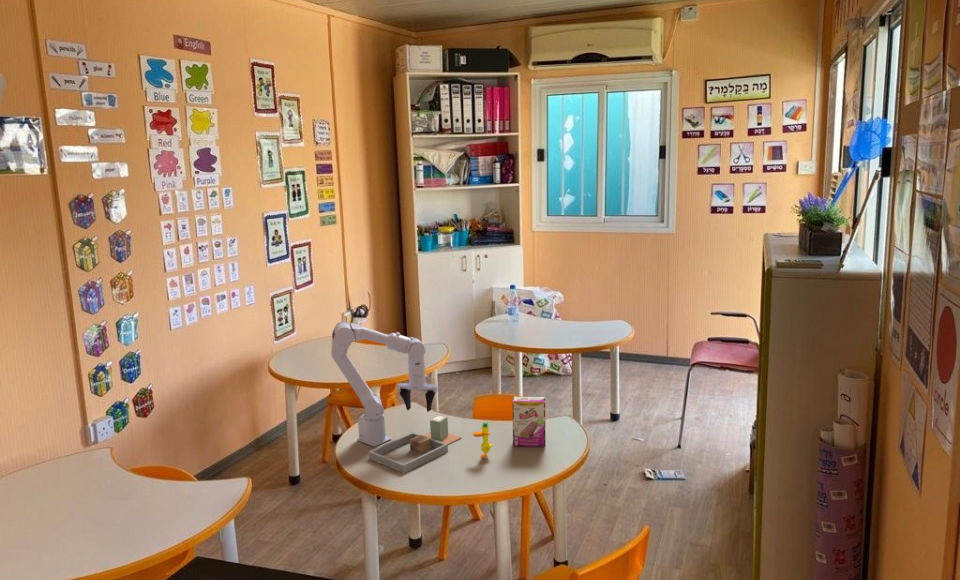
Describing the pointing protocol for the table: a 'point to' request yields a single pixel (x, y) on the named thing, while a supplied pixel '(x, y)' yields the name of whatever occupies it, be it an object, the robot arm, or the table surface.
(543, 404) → the candy bar box
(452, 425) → the table surface
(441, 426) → the labelled box
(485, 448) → the toy figure
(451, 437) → the mat
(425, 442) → the walnut block
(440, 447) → the parts bin
